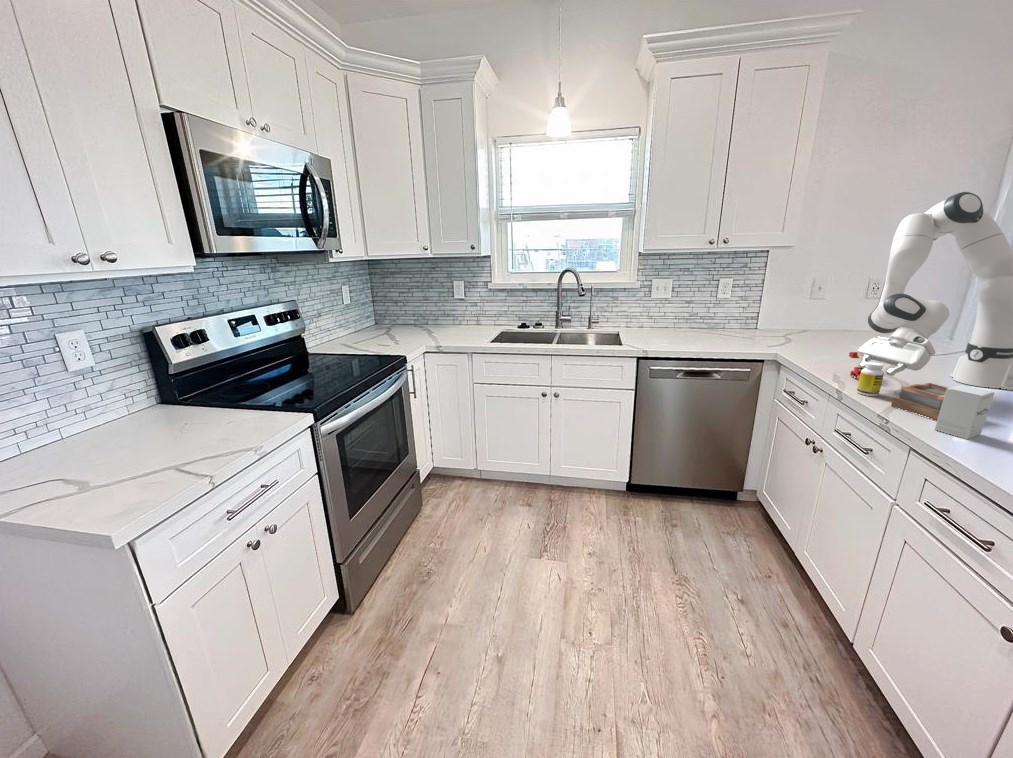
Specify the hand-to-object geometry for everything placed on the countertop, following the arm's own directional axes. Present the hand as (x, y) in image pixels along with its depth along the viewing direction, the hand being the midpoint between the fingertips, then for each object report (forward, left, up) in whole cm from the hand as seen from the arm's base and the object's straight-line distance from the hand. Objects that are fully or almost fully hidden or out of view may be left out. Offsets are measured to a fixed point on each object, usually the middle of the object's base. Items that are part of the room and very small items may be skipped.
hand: (875, 370), depth 152 cm
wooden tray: (0, +19, -8) cm, 20 cm away
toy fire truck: (-12, -14, -8) cm, 21 cm away
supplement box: (+10, +33, -8) cm, 35 cm away
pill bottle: (+2, +1, -8) cm, 9 cm away
